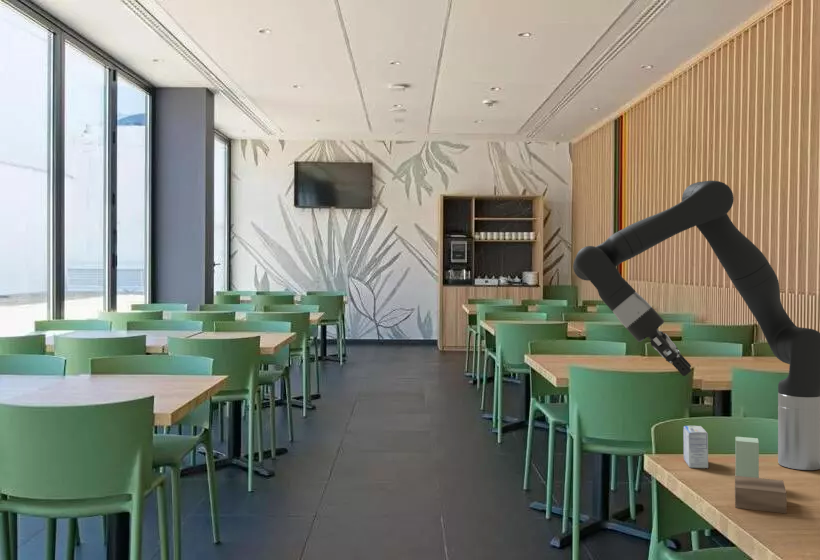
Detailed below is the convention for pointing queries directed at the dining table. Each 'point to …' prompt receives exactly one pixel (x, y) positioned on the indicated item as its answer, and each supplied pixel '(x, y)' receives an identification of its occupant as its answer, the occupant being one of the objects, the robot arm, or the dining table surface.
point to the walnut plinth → (760, 494)
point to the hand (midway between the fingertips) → (687, 371)
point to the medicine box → (695, 446)
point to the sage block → (747, 457)
